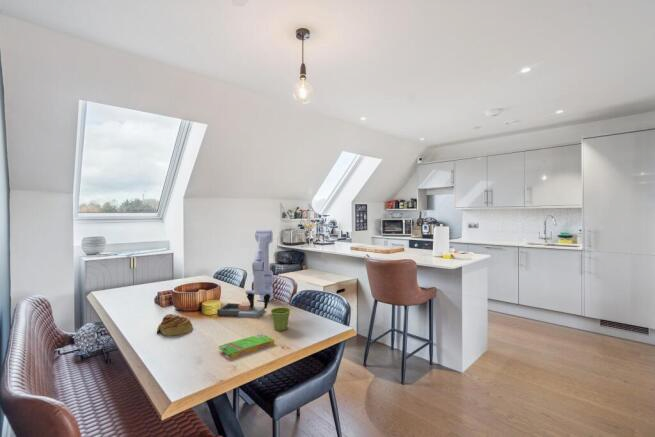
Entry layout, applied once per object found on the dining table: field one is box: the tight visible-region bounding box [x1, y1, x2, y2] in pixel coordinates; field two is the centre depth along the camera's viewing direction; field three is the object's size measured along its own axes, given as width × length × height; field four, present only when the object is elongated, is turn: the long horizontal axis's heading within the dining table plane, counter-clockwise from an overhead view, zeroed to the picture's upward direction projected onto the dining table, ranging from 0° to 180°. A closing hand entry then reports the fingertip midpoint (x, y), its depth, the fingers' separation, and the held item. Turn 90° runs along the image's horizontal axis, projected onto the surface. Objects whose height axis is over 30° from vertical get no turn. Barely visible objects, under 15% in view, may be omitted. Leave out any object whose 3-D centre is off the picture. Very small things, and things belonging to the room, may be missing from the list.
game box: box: [217, 332, 275, 359], centre depth 128 cm, size 3×10×20 cm
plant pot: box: [270, 307, 292, 332], centre depth 149 cm, size 9×9×9 cm
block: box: [238, 301, 251, 310], centre depth 172 cm, size 6×6×2 cm
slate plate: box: [238, 305, 266, 318], centre depth 170 cm, size 12×10×2 cm
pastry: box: [156, 313, 194, 337], centre depth 146 cm, size 13×15×8 cm
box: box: [216, 302, 241, 318], centre depth 172 cm, size 12×12×3 cm
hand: (259, 307), depth 171 cm, fingers open, 7 cm apart
